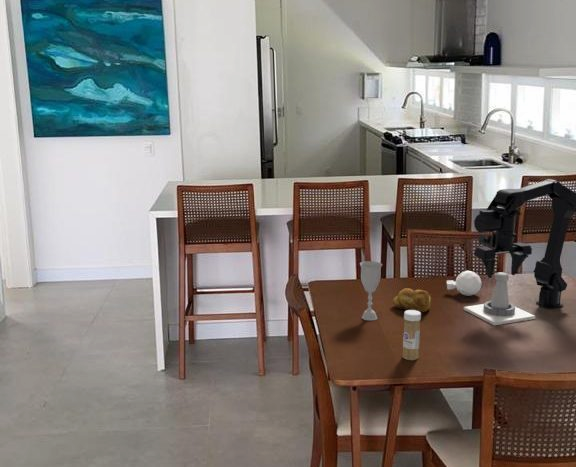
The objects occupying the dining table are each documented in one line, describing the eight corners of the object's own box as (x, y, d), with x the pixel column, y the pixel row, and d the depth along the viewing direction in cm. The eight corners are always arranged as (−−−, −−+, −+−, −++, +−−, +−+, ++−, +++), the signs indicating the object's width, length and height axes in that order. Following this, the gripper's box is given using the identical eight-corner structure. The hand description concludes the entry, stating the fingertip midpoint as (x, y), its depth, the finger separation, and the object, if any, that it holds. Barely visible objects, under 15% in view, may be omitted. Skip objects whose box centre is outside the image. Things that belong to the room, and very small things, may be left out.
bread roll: (388, 309, 241) (389, 286, 239) (400, 301, 249) (401, 279, 247) (424, 316, 235) (426, 293, 233) (435, 308, 243) (436, 285, 241)
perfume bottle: (481, 286, 260) (447, 287, 263) (480, 264, 256) (445, 267, 258) (483, 300, 253) (448, 302, 256) (482, 278, 248) (446, 281, 251)
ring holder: (502, 303, 247) (503, 295, 246) (534, 318, 232) (535, 309, 232) (463, 309, 241) (464, 301, 240) (494, 325, 226) (495, 316, 226)
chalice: (383, 316, 235) (385, 262, 230) (376, 322, 229) (378, 268, 224) (362, 312, 238) (363, 260, 233) (355, 319, 232) (356, 265, 227)
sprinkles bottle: (399, 358, 201) (401, 312, 198) (407, 353, 205) (409, 308, 202) (413, 362, 198) (415, 316, 195) (421, 357, 202) (424, 311, 199)
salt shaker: (509, 314, 233) (512, 276, 230) (490, 313, 234) (493, 275, 231) (507, 308, 239) (510, 271, 236) (489, 307, 240) (492, 270, 237)
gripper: (511, 222, 241) (508, 267, 244) (465, 226, 234) (462, 272, 237) (534, 229, 231) (530, 276, 234) (486, 234, 224) (483, 282, 227)
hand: (501, 276), depth 234 cm, fingers open, 9 cm apart
